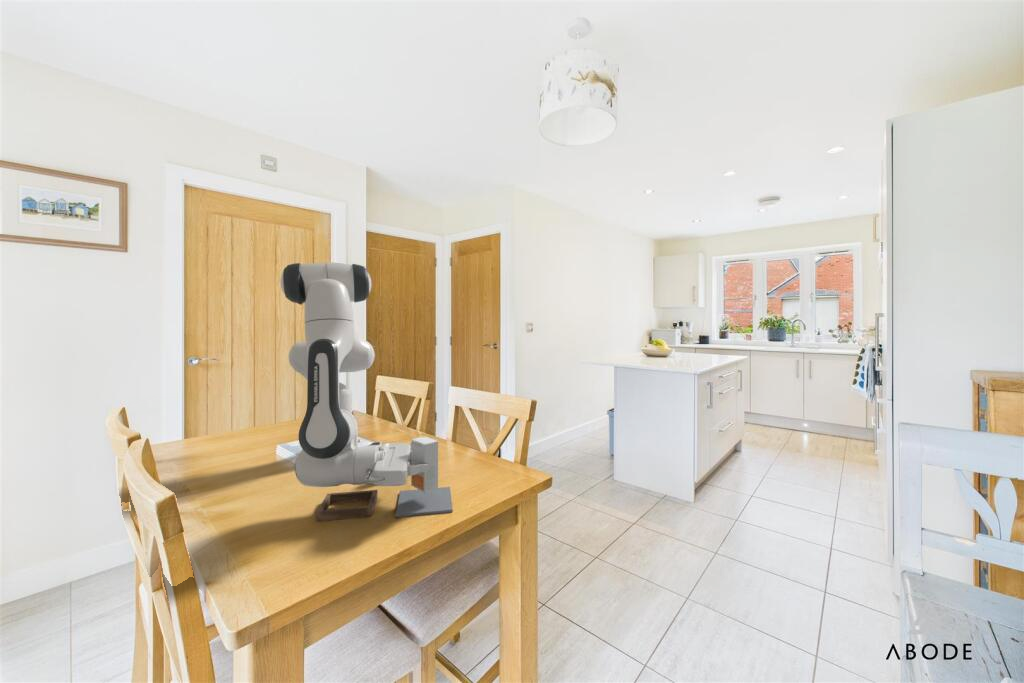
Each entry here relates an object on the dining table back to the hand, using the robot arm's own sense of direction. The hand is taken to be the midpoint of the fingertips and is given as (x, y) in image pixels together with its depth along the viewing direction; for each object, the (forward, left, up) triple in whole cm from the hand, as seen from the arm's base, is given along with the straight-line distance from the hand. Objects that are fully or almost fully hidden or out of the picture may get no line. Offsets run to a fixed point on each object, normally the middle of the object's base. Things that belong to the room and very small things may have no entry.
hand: (428, 461), depth 98 cm
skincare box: (0, -1, -7) cm, 7 cm away
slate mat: (0, -1, -10) cm, 11 cm away
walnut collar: (0, -19, -10) cm, 22 cm away
